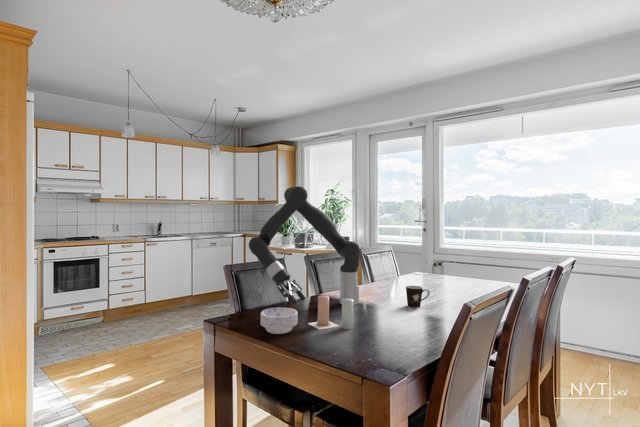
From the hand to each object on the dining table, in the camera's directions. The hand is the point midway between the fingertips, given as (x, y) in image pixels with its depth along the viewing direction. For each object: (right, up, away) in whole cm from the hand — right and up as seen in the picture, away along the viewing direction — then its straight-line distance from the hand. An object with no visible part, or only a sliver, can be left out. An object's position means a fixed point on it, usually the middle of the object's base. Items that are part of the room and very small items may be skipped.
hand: (300, 301), depth 177 cm
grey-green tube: (+20, -9, -9) cm, 24 cm away
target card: (+10, -9, -5) cm, 15 cm away
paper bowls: (-8, -9, -13) cm, 18 cm away
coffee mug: (+59, -10, +30) cm, 67 cm away
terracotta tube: (+10, -9, -5) cm, 15 cm away
